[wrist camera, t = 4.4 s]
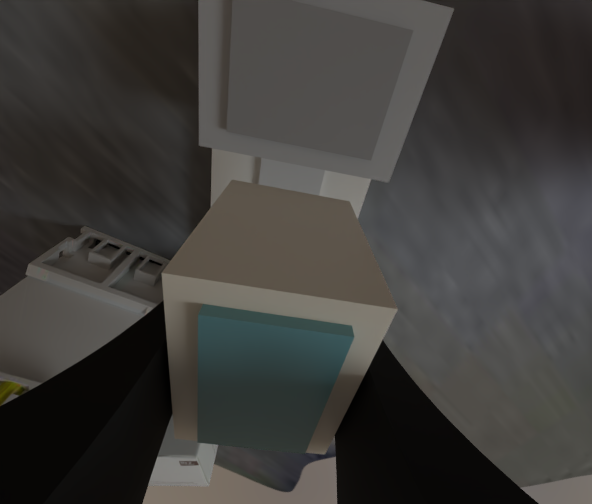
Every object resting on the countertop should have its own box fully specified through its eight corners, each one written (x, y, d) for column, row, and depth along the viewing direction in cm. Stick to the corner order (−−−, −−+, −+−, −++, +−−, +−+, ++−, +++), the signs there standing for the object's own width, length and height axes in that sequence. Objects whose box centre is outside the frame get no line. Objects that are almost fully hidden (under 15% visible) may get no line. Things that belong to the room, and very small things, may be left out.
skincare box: (175, 406, 31) (144, 487, 25) (160, 374, 28) (120, 458, 22) (228, 406, 31) (209, 488, 25) (219, 374, 28) (195, 459, 22)
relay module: (349, 201, 10) (402, 320, 5) (315, 315, 14) (325, 465, 8) (231, 179, 10) (153, 282, 5) (223, 301, 13) (170, 450, 8)
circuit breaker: (69, 344, 26) (-157, 603, 13) (84, 225, 19) (-355, 523, 6) (149, 369, 28) (20, 616, 15) (190, 268, 21) (15, 566, 8)
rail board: (413, 30, 13) (505, -10, 7) (318, 322, 24) (323, 402, 18) (222, -17, 12) (150, -105, 6) (212, 307, 23) (181, 385, 17)
